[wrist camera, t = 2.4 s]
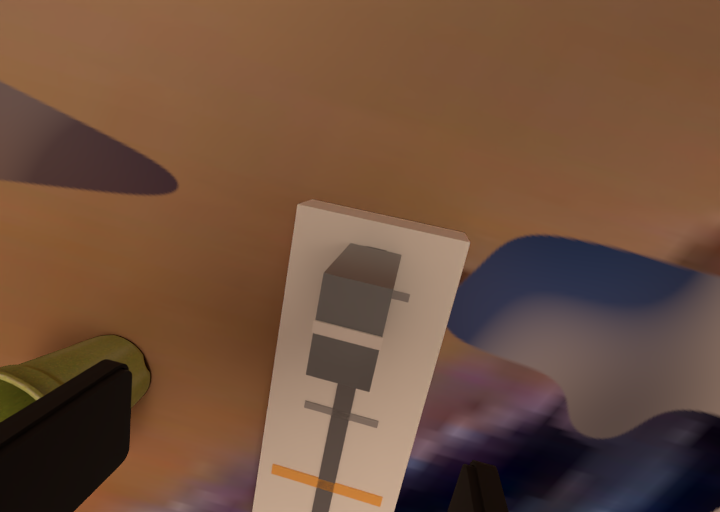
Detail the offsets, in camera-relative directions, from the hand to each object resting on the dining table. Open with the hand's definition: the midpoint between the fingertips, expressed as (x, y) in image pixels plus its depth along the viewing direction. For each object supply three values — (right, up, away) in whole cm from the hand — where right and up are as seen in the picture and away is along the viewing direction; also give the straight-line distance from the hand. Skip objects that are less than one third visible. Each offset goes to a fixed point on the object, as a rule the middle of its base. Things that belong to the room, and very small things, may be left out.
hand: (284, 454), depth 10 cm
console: (+1, -4, +17) cm, 18 cm away
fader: (+2, +3, +12) cm, 13 cm away
